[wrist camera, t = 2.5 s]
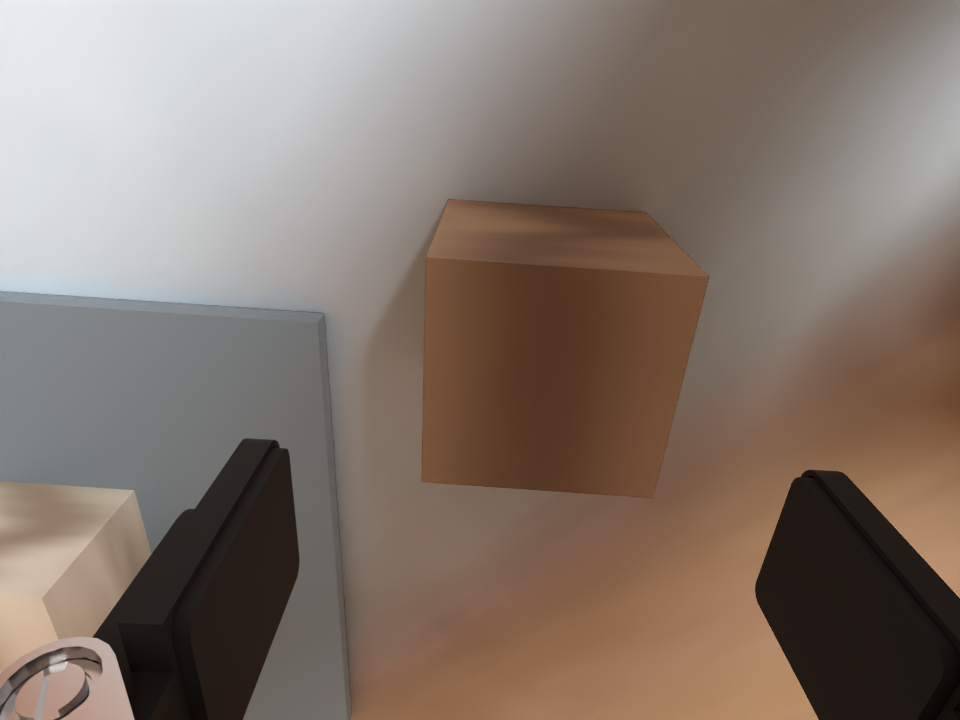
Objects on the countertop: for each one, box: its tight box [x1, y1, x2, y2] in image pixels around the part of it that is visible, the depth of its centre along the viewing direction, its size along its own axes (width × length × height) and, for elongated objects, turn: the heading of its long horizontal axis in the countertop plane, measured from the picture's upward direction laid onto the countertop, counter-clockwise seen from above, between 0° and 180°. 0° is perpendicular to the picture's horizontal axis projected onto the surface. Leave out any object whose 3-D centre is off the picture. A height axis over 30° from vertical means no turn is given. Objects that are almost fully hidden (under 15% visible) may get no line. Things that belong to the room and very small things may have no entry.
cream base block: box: [0, 481, 152, 673], centre depth 21 cm, size 7×7×5 cm
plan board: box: [0, 291, 352, 720], centre depth 24 cm, size 22×22×1 cm
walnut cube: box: [421, 199, 709, 498], centre depth 16 cm, size 6×6×6 cm
